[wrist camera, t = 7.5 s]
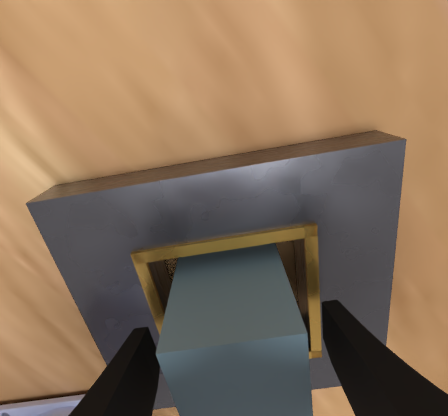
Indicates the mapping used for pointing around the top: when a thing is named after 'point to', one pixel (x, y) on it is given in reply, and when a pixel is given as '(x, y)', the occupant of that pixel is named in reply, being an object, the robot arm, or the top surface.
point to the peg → (235, 337)
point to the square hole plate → (233, 234)
